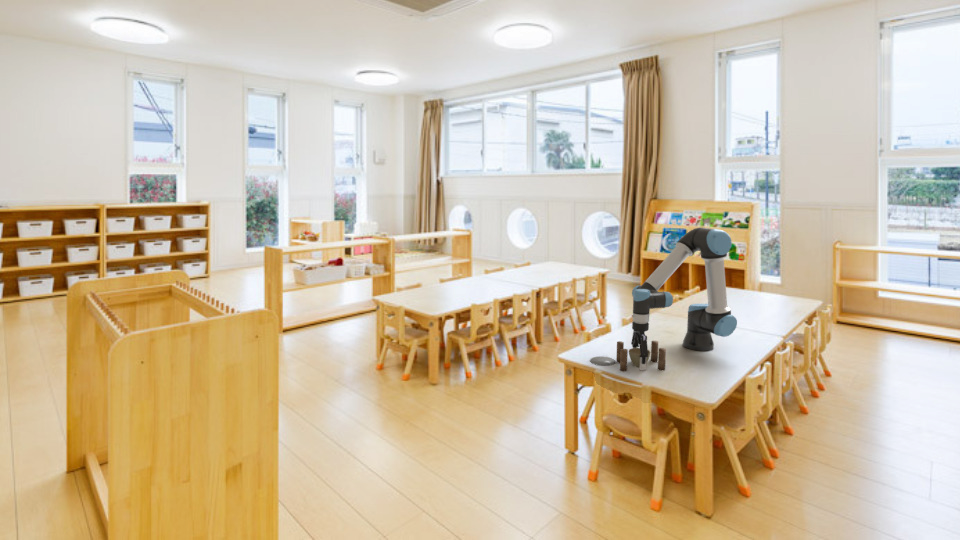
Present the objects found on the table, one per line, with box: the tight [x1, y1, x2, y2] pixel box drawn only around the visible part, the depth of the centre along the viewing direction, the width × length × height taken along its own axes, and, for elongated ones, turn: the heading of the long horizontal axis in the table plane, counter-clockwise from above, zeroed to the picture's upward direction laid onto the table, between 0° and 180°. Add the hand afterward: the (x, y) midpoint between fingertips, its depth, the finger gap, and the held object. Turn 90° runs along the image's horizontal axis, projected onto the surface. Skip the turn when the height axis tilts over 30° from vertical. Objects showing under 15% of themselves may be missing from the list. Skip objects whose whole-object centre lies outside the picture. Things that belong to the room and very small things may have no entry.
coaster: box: [590, 356, 617, 367], centre depth 258 cm, size 12×12×1 cm
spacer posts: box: [615, 340, 667, 372], centre depth 250 cm, size 21×15×10 cm
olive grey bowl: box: [628, 347, 651, 368], centre depth 251 cm, size 10×10×7 cm
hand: (638, 365), depth 251 cm, fingers open, 12 cm apart
